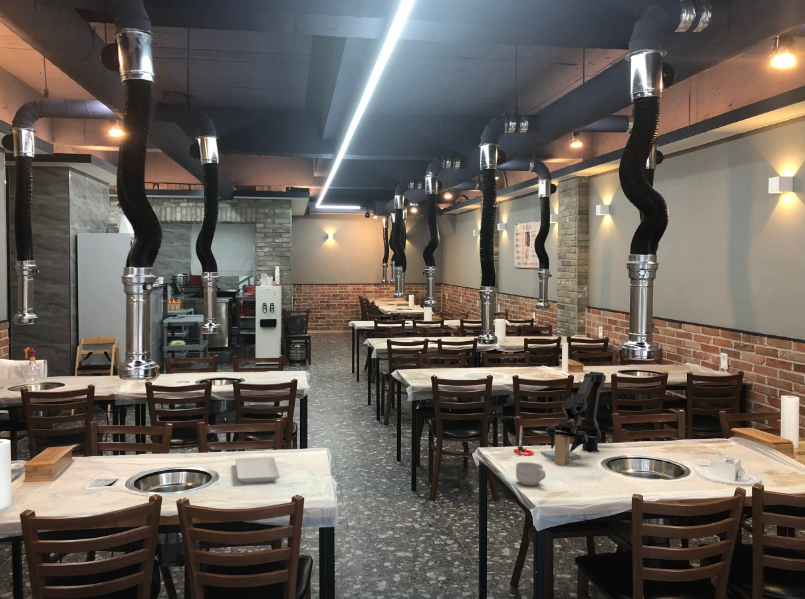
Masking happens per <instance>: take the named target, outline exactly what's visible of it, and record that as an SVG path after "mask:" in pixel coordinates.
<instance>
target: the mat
mask: <svg viewBox="0 0 805 599" xmlns="http://www.w3.org/2000/svg"><path fill="white" fill-rule="evenodd" d="M540 454H541V455H542V456H543V455H544V456H543V457H545V458H548V459H549V460H552V461H554V462H555V449H553V450H542V451H540ZM578 458H580V459H581V455H580V454H578V453H577V452H573V451H572V452H570V455H569V459H570V460H579V459H578Z"/></svg>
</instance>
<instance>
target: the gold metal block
mask: <svg viewBox="0 0 805 599" xmlns="http://www.w3.org/2000/svg"><path fill="white" fill-rule="evenodd" d="M570 442H571V437H570V436H568V435H562V434H559V435H556V436H555V445H554V450H555V461H554V465H557V466H562V467H566V466H569V465H570V460H569V455H570V449H571V446H570Z"/></svg>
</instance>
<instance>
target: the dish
mask: <svg viewBox="0 0 805 599" xmlns="http://www.w3.org/2000/svg"><path fill="white" fill-rule="evenodd" d="M715 453H716V455H717V457H719V458H717V459H716V458H712V459H710V466H709V467H708V466H707V467H702V468H699V469H697V471H696V475H697V476H698V477H699V478H700V477H701V479H702V478H703V480H705V481H708V482H712V483H715V484H719V483H721V484H720V485H725V484H727V485H726V486H733V485H735V486H736V487H751V486H752V484H754V483H760V484H762V480H761V477H760V476H759V475H757V474H754V473H752V472H749V471H746V470H745V469H744V468H743V467H742V458H741V457H738V458H737V457H736V458H735V457H733V456H730V455H727V454H726V455H725V454H724V455H723V453H722V452H720V451H718V450H716V451H715ZM739 485H741V486H739ZM735 486H734V487H735ZM752 487H753V486H752Z"/></svg>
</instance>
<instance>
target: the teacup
mask: <svg viewBox="0 0 805 599" xmlns="http://www.w3.org/2000/svg"><path fill="white" fill-rule="evenodd" d="M515 465H516V466H515V477H516V479H517V481H518V482H519V483H520V484H521V485H523V486H536V485H538V484H539V483H541V482H542V481H543V480H544V479H545V478H546V471H545V469H543V465H542V464H540V463H534V462H529V461H528V462H525V461H521V462H516V464H515Z"/></svg>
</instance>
